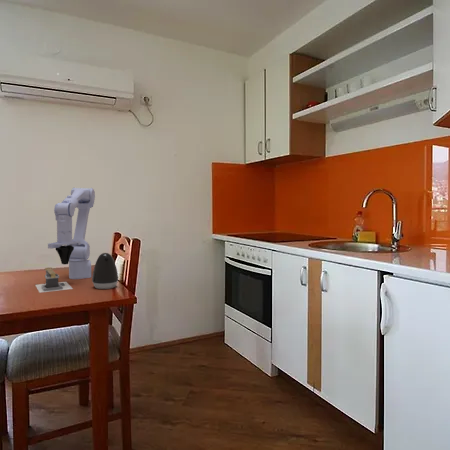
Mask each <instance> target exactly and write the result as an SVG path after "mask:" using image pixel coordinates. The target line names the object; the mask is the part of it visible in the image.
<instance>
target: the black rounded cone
mask: <svg viewBox="0 0 450 450" xmlns="http://www.w3.org/2000/svg"><path fill="white" fill-rule="evenodd" d="M115 262H116V261H115V259H114V258H113V256H112V254H110V253H108V252H103V253H101V254H99V255H98V257H97V259H96V261H95V263H94V268H93V271H92V276H91V278H92V279H91V282H92V284H93V286H94V288H95V289H98V290H111V289H114V288H116V286H117V284H118V281H119V274H118V268H117V265H116V263H115Z"/></svg>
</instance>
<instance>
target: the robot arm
mask: <svg viewBox="0 0 450 450" xmlns="http://www.w3.org/2000/svg"><path fill="white" fill-rule="evenodd" d="M95 198H96V194H95V189H94V188H93V187H90V188H89V187H88V188H87V187H82V188H81V187H72V189H71V190H70V194H69V195H67V196H65V198H64V199H63V200H61V202H58V203H56V204H55V205H54V209H53V211H54V216H55V221H56V231H57V232H56V241H55V242H49V243H47V249H50V250H51V249H55V250H56V252H57V255H58V256H59V258H60V259H59V260H60V262H61V265H68V278H69V279H70V280H81V279H89V278H92V261H91V260H90V259H89V258H90V254H91V253H90V252H91V251H90V249H91V247H90V243H89V242H88V241H86V233H87V227H88V220H89V213H90V210H91V209H92V208H93V207H94V205H95V200H96V199H95ZM76 208H77V209H78V211H77V215H76V216H77V217H76V222H75V228H74V233H73V216H74V215H75V211H76Z"/></svg>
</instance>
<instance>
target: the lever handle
mask: <svg viewBox="0 0 450 450" xmlns="http://www.w3.org/2000/svg"><path fill="white" fill-rule="evenodd" d="M44 270H45V271H46V270H47V271H48V272H49V274H50V275H51V278H56V277H55V274H56V272H55V270H53V267H45V268H44Z"/></svg>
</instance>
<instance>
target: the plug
mask: <svg viewBox="0 0 450 450" xmlns="http://www.w3.org/2000/svg"><path fill="white" fill-rule="evenodd" d="M55 277H56V278H51V275H50V274H47V275H46V274H45V275H44V278H45V284H46V288H52V287H58V282H59V278H60V275H59V274H58V273H55Z"/></svg>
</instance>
